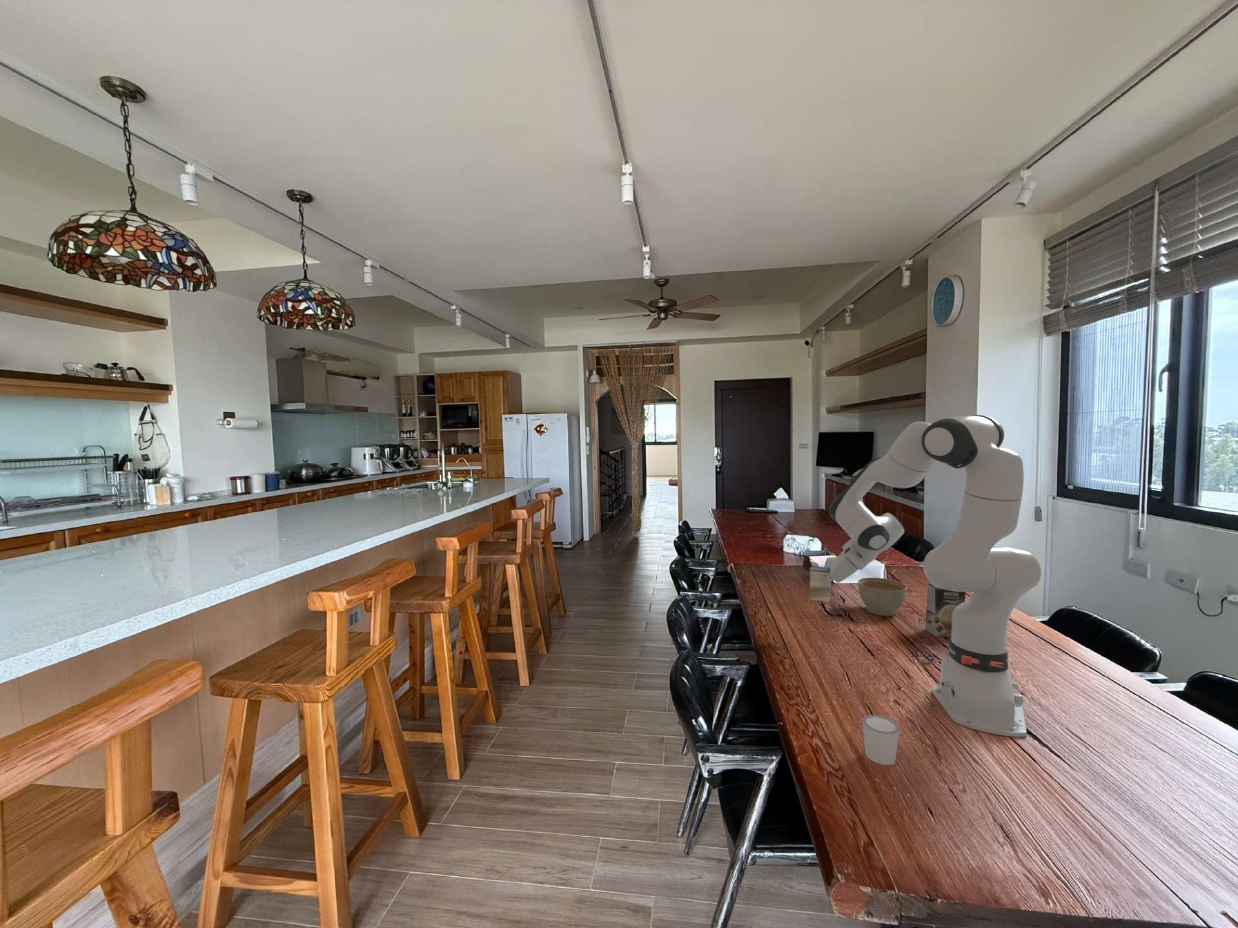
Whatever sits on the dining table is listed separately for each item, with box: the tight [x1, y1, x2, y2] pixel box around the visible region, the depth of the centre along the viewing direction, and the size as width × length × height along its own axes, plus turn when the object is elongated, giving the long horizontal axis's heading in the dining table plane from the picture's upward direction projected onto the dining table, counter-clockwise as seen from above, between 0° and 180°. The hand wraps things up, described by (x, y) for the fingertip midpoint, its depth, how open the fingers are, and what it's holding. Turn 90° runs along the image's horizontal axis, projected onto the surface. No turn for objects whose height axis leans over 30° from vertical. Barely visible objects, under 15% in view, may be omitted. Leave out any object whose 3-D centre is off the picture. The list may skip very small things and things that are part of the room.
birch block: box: [809, 565, 832, 603], centre depth 163 cm, size 5×6×10 cm
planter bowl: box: [857, 577, 907, 617], centre depth 186 cm, size 16×16×11 cm
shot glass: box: [862, 714, 900, 766], centre depth 104 cm, size 7×7×7 cm
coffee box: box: [924, 583, 966, 638], centre depth 166 cm, size 9×6×16 cm
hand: (823, 580), depth 163 cm, fingers closed on birch block, 5 cm apart
